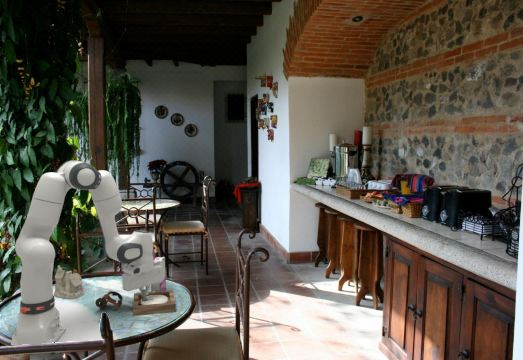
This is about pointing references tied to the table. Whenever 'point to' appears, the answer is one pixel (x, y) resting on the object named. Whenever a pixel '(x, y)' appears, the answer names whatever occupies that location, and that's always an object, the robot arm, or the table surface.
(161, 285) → the candy bar box
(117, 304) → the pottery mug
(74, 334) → the table surface
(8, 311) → the table surface
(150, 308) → the square wooden tray
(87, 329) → the table surface
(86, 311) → the table surface
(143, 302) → the dial
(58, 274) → the ceramic cottage
